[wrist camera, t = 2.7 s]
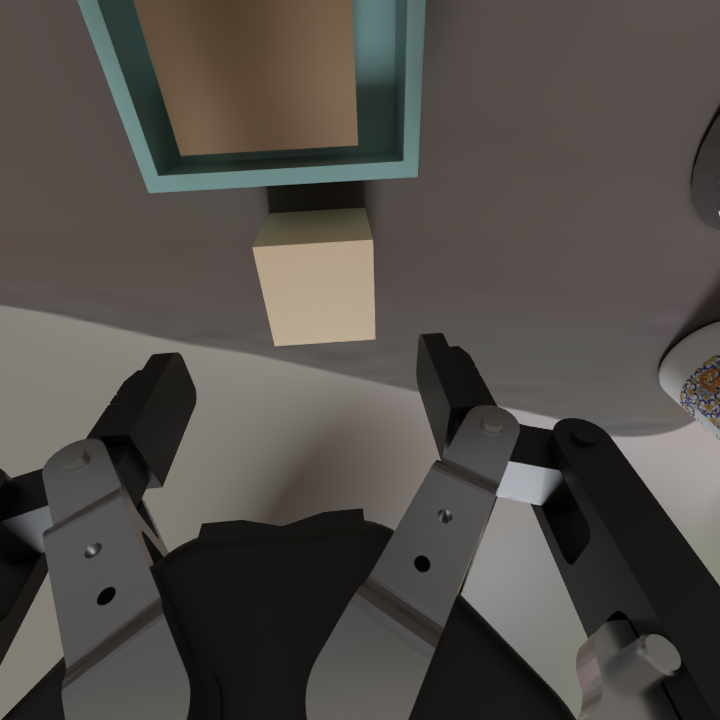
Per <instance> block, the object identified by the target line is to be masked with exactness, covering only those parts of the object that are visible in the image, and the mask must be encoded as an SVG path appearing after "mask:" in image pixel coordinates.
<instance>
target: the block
mask: <svg viewBox="0 0 720 720" xmlns="http://www.w3.org/2000/svg"><path fill="white" fill-rule="evenodd" d="M134 3H135V6H136V10H137V13H138V16H139V20H140V23H141V26H142V30H143V33H144V36H145V39H146V43H147V46H148V49H149V53H150V56H151V59H152V63H153V66H154V69H155V72H156V76H157V79H158V82H159V86H160V89H161V92H162V95H163V99H164V102H165V105H166V109H167V112H168V115H169V119H170V122H171V125H172V128H173V132H174V135H175V138H176V142H177V145H178V148H179V152H180V155H181V156H186V155H203V154H220V153H237V152H254V151H271V150H288V149H305V148H322V147H339V146H356V145H358V130H357V106H356V81H355V57H354V32H353V8H352V0H134Z"/></svg>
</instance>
